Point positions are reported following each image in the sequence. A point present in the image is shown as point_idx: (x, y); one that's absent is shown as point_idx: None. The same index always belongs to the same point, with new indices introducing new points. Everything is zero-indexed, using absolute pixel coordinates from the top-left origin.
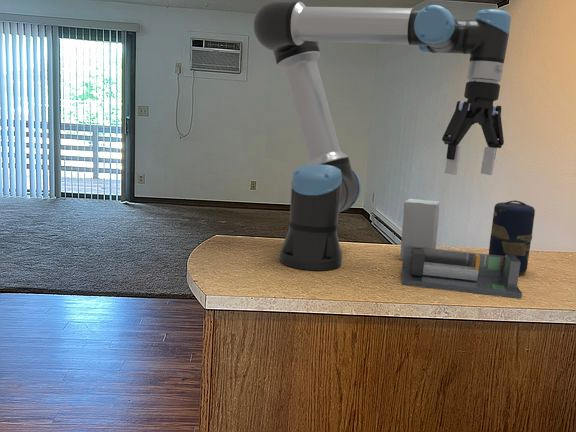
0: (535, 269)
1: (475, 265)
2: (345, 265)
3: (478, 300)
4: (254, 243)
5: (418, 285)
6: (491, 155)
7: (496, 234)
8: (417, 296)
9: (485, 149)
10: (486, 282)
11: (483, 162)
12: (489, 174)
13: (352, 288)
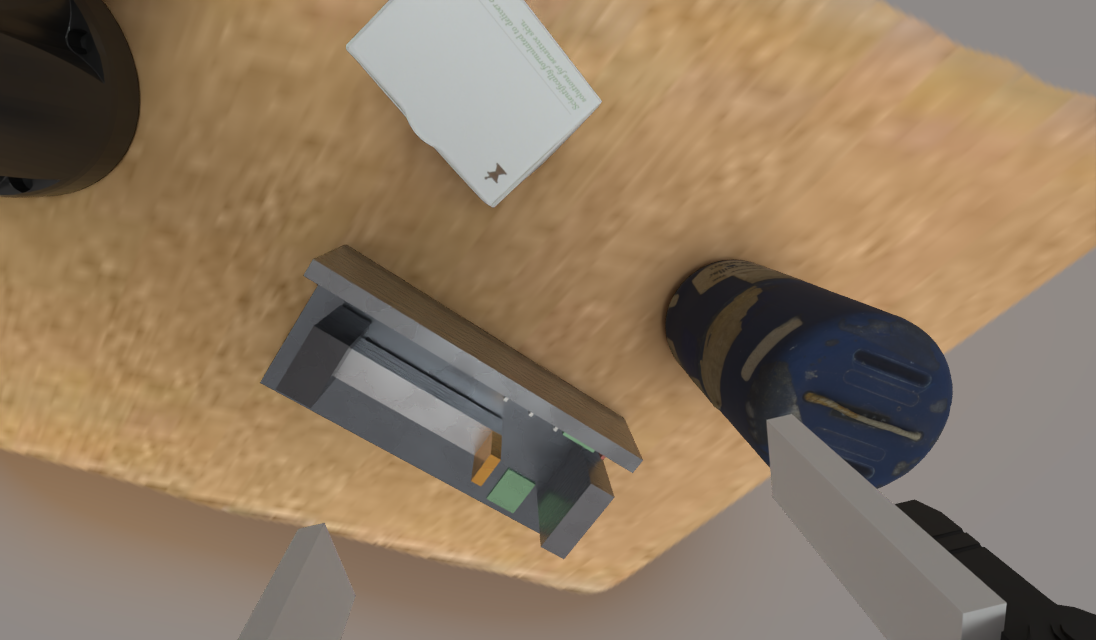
0: None
1: (473, 462)
2: (152, 142)
3: (414, 515)
4: None
5: None
6: (881, 618)
7: (705, 359)
8: (262, 465)
9: (932, 595)
10: (512, 449)
11: (825, 487)
12: (774, 493)
13: (91, 377)
